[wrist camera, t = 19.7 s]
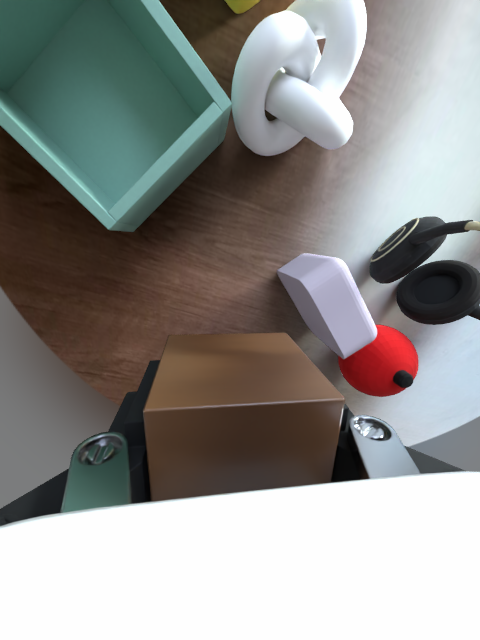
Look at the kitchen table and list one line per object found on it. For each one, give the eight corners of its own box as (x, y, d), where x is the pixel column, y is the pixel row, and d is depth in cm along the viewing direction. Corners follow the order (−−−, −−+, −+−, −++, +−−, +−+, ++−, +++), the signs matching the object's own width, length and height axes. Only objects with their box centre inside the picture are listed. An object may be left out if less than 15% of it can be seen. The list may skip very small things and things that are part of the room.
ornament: (344, 385, 39) (389, 431, 30) (315, 342, 36) (354, 378, 27) (395, 349, 39) (457, 386, 29) (368, 303, 36) (428, 326, 26)
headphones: (402, 325, 38) (604, 414, 19) (338, 254, 33) (518, 277, 14) (449, 280, 36) (713, 326, 18) (389, 201, 32) (656, 148, 13)
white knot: (361, 106, 29) (428, 50, 20) (292, 200, 31) (326, 185, 22) (285, 15, 25) (326, -97, 17) (213, 126, 27) (217, 76, 19)
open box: (224, 139, 28) (232, 103, 20) (133, 232, 29) (108, 230, 22) (99, -24, 23) (49, -153, 15) (-3, 97, 24) (-96, 33, 17)
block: (173, 435, 12) (155, 560, 7) (168, 334, 11) (142, 409, 6) (278, 428, 13) (322, 538, 8) (286, 332, 11) (346, 398, 7)
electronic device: (339, 312, 36) (388, 338, 26) (310, 330, 36) (348, 364, 26) (305, 248, 32) (348, 252, 23) (274, 269, 33) (303, 281, 23)
